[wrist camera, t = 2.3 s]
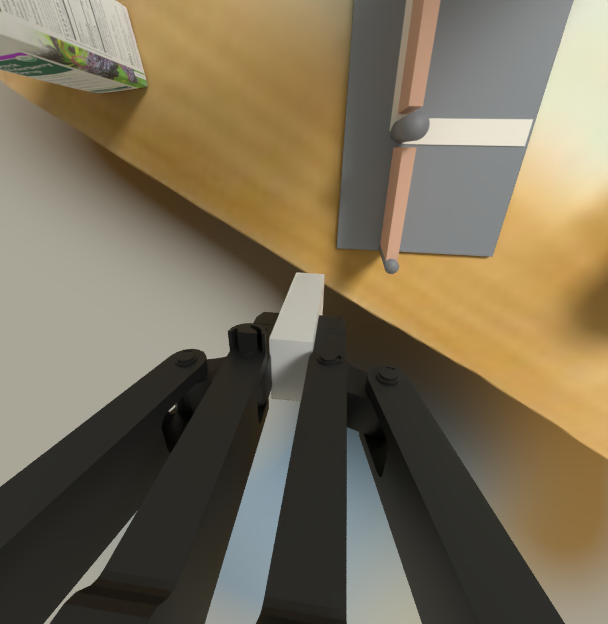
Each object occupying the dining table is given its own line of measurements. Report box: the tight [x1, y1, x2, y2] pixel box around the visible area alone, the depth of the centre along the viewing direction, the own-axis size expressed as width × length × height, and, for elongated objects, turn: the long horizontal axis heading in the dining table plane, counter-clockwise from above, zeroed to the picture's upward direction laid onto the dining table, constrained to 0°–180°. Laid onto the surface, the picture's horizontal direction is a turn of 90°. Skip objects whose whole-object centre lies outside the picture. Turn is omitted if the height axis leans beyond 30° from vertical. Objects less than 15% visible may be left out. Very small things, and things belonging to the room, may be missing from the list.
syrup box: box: [0, 0, 147, 93], centre depth 22 cm, size 6×6×14 cm
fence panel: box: [379, 147, 417, 274], centre depth 28 cm, size 10×1×6 cm, turn 179°
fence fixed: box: [391, 0, 441, 143], centre depth 22 cm, size 12×2×7 cm, turn 179°
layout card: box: [337, 0, 573, 257], centre depth 27 cm, size 22×16×1 cm
